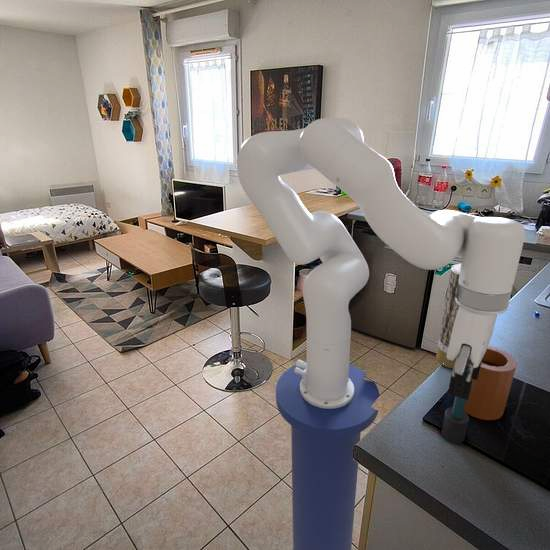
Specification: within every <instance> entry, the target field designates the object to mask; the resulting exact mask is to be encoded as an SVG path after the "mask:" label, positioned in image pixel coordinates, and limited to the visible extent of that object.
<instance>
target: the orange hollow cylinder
mask: <svg viewBox="0 0 550 550" xmlns="http://www.w3.org/2000/svg"><path fill="white" fill-rule="evenodd" d="M481 361H482V363H481V367H480V371H479V376H478V379H477V380H474V379H471V380H473V381H472V386H471V390H470V395H469V398H468V400H466V402H465V407H464V412H465V413H466V414H467V415H468V416H471V417H473V418H476V419H479V420H484V421H497V420H498V419H501V418H502V417H503V416H504V413H505V409H506V406H507V402H508V399H509V395H510V391H511V387H512V384H513V380H514V376H515V374H516V373H515V372H516V369H517V365H518V362H517V360H516V358H515V357H514V356H512V354H510V353H509V352H508V351H506V350H503V349H501V348H499V347H496V346H492V345H488V348H487V350H486V352H485V354H484V356H483V358H482V360H481Z"/></svg>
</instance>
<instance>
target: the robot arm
mask: <svg viewBox="0 0 550 550" xmlns="http://www.w3.org/2000/svg"><path fill="white" fill-rule="evenodd" d="M236 166H237V167H236V169H237V177H238V180H239V184H240V185H241V188H242V189H243V191H244V193H245V195H246V196H247V198H248V199H249V201H250V202H251V203H252V204H253V206H254V207H255V208H256V210H257V211H258V212H259V214H260V216H262V218H263V220H264V221H265V223H266V226H267V227H268V228H269V230H270V231H271V233H272V234H273V236H274V238H275V239H276V241H277V243H278V244H279V246H280V247H281V249H282V251H283V252H284V253H285V255H286V256H287V258H288V259H289V260H290V261H291V262H292V263H293V264H296V265H301V266H302V265H307V264H310V263H312V262H314V261H316V260H318V259H320V261H321V262H322V263H320V264H319V265H317V266H315V267H314V268H313V269H312V270H311V271H310V272H309V273H308V274H307V275H306V277H305V279H304V281H303V284H302V298H303V302H304V307H305V308H304V309H305V317H306V361H307V363H305V361H304V360H302V359H297V360H296V362H295V365H296V368H295V370H294V372H295V373H297V374H300V375H302V377H303V379H302V380H301V382H300V393H301V395H302V397H303V398H304V399H305V400H306V401H307V402H308V403H310V404H312V405H314V406H316V407H319V408H324V409H334V408H339V407H342V406H345V405H346V404H348V403H349V402H350V401H351V400H352V398H353V396H354V385H353V383H352V381H351V380H350V379H349V378H348V373H349V364H350V353H351V337H352V319H351V314H350V311H349V304H350V301H351V300H352V299H353V298H354V297H355V296H356V294H358V293H359V292H360V291H361V290H362V289H364V287H365V286H366V284H367V283H368V281H369V278H370V269H369V265H368V262H367V260H366V259H365V257H364V255H363V253H362V252H361V250H360V249H359V247H358V245H357V244H356V242H355V241H354V239H353V238H352V236H351V234H350V233H349V232H348V229H347V228H346V227H345V225H344V224H343V222H342V221H341V220H340V218H338V217H337V216H336V215H334V214H333V213H331V212H330V211H326V210H316V211H312V212H310V211H308V209H307V207H306V206H305V205H304V204H303V202H302V201H301V198H300V197H299V195H298V194H297V193H296V191H294V189H292V188H291V186H290V185H288V184H287V183H286V182H284V180H283V179H282V178H281V177H280V176H283V175H287V174H292V173H296V172H297V173H298V172H302V171H307V170H312V169H315V170H316V171H317V172H318V173H320V174H321V175H322V176H323V177H325V178H326V179H327V180H328V181H330V182H331V183H332V184H333V185H335V186H336V187H337V188H338V189H339V190H341V191H342V192H343V193H344V194H346V196H348V197H349V198H350V199H352V200H353V201H354V202H355V204H357V206H358V208H359V210H360V212H361V214H362V217H364V219H365V221H366V222H367V223H368V226H369V227H370V229H371V230H372V231H373V232H374V233H375V235H376V236H377V237H378V238H379V239H380V240H381V241H382V242H383V243H384V244H386V245H387V246H388V247H389V248H390V249H392V250H393V251H394V252H395V253H396V254H397V255H398V256H400V257H401V258H402V259H404V260H405V261H406V262H408V263H410V264H411V265H413V266H415V267H417V268H419V269H422V270H426V271H427V270H429V271H435V270H440V269H442V268H444V267H447V266H448V265H449V264H450V263H452V261H453V260H454V259H455V258H456V257H457V256H459V257H461V263H460V264H461V269H460V275H459V281H458V286H457V292H456V297H455V301H456V303H457V304H458V305H459V309H458V312H457V315H456V319H455V322H454V326H453V330H452V335H451V339H450V343H449V348H448V352H447V356H446V357H447V359H448V360H452V361H453V360H454V359H455V358H456V357H457V358H456V361H455V365H454V369H453V368H452V373H451V374H450V380H449V384H448V391H447V392H448V394H450V395H452V396H454V397H455V396H457V397H459V398H462V399H464V400H468V398H469V395H470V390H471V386H472V381H473V380H471V379H474V380H477V379H478V376H479V371H480V367H481V363H482V361H481V360H482V358H483V356H484V354H485V352H486V350H487V348H488V346H490V342H491V340H492V337H493V333H494V329H495V325H496V321H497V318H498V315H501V314H504V313H505V312H507V311H508V308H509V304H510V301H511V297H512V296H511V295H512V292H513V287H514V284H515V280H516V275H517V272H518V266H519V264H520V263H519V262H520V258H521V255H522V250H523V246H524V242H525V239H526V228H525V226H524V225H523V224H522V223H521V222H519V221H517V220H515V219H514V220H513V219H511V218H506V217H497V216H485V217H484V216H483V217H482V216H476V215H472V214H469V213H468V214H467V213H464V212H460V211H456V210H450V209H441V210H436V211H434V212H432V213H430V214H428V213H426V212H424V211H423V210H422V209H420V208H419V207H418V206H417V205H416V204H415V203H414V202H412V201H411V200H410V199H409V198H408V197H407V196H406V195H405V193H403V191H402V190H401V189H400V187H399V186H398V183H397V181H396V176H395V171H394V170H395V169H394V167H393V164H392V163H391V162H390V161H389V160H388V159H387V158H385V157H384V156H382V155H381V154H380V153H379V152H377V151H376V150H375V149H373V148H372V147H371V146H369V145H368V144H367V143H365V142H364V134H363V131H362V130H361V128H360V126H358V124H357V123H356V122H355V121H352V120H351V119H349V118H344V117H323V118H318V119H315V120H313V121H311V123H309V124H308V125H306V127H303V128H299V129H293V130H291V129H290V130H272V131H271V130H270V131H264V132H259V133H256V134H253V135H251V136H249V137H248V138H247V139H246V140H244V142H243V143H242V145H241V146H240V148H239V152H238V155H237V160H236ZM468 359H470V360H471V361H472V363H470V362H468ZM466 366H467V367H469V371H468V374H467V372H466V371H465V368H466ZM297 367H298V368H297ZM299 368H300V369H299ZM301 369H304V371H303V370H301Z"/></svg>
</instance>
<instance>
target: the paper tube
mask: <svg viewBox="0 0 550 550" xmlns="http://www.w3.org/2000/svg"><path fill="white" fill-rule="evenodd" d="M461 264H462V263H456V264H453V265H451V268H450V272H449V277H448V278H449V279H448V284H447V290H446V296H445V303H444V308H443V313H442V314H443V315H442V320H441V321H442V322H441V325H440V331H439V338H438V343H437V350H436V356H435V358H436V360H437V362H438V363H439V364H440V365H442V366H444V367H445V368H448V369H452V370H453V369H454V365H455V361H456V358H457V357H456V358H455V359H454V360H453V361H452V360H448V359H447V357H446V356H447V352H448V348H449V343H450V339H451V335H452V330H453V326H454V322H455V319H456V315H457V312H458V309H459V305H458V304H457V303H456V301H455V297H456V292H457V286H458V281H459V275H460V269H461ZM443 363H444V364H443Z"/></svg>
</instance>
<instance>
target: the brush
mask: <svg viewBox="0 0 550 550" xmlns="http://www.w3.org/2000/svg"><path fill="white" fill-rule="evenodd" d="M468 362H470V363H472V361H471V360H470V359H468ZM465 371H466V372H467V374H468V371H469V367H467V366H466V368H465ZM465 402H466V400H464V399H462V398H459V397H457V396H454V399H453V405H452V407H448V408H447V409H445V411H444V416H443V422H442V427H441V435H442V437H443V438H444V440H446V441H447V442H450V443H453V444H461V443H463V442H464V441H465V438H466V433H467V430H468V425H469V421H470V417H469V414H467V413H466V412H464V407H465Z"/></svg>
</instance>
